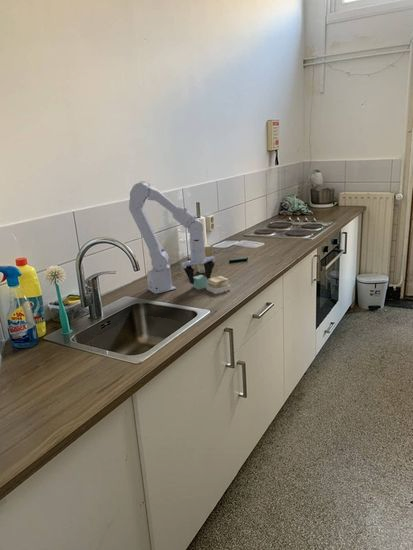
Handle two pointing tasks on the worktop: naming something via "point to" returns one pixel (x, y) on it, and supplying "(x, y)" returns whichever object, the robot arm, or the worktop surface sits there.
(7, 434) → the worktop surface
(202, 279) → the teal cube
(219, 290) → the tower base
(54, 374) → the worktop surface
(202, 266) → the skincare box
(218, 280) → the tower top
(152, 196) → the robot arm
